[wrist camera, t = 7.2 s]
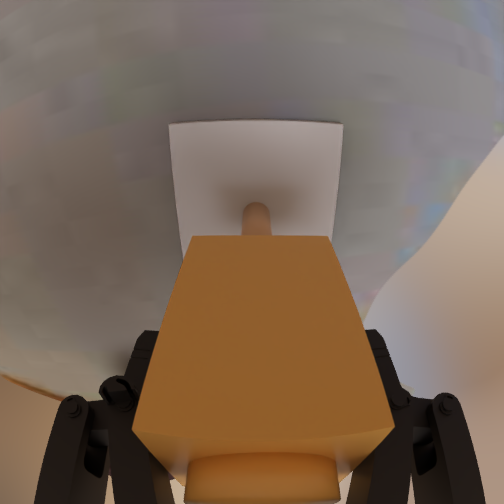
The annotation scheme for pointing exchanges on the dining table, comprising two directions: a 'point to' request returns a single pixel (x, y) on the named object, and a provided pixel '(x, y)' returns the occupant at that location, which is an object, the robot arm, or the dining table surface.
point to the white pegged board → (255, 177)
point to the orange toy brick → (261, 374)
